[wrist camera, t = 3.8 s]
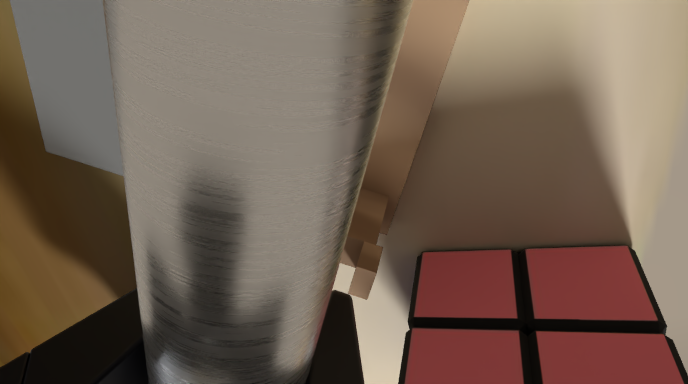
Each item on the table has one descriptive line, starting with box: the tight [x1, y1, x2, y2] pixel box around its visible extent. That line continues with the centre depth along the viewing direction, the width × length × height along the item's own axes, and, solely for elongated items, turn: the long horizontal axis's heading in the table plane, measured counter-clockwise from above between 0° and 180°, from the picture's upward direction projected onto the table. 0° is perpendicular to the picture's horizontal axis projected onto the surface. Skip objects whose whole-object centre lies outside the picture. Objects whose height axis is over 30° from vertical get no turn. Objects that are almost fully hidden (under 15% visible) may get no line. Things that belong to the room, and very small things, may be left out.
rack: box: [340, 0, 469, 300], centre depth 17 cm, size 15×5×6 cm, turn 169°
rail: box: [103, 0, 413, 384], centre depth 7 cm, size 15×2×2 cm, turn 169°
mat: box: [10, 0, 124, 176], centre depth 21 cm, size 16×7×1 cm, turn 169°
